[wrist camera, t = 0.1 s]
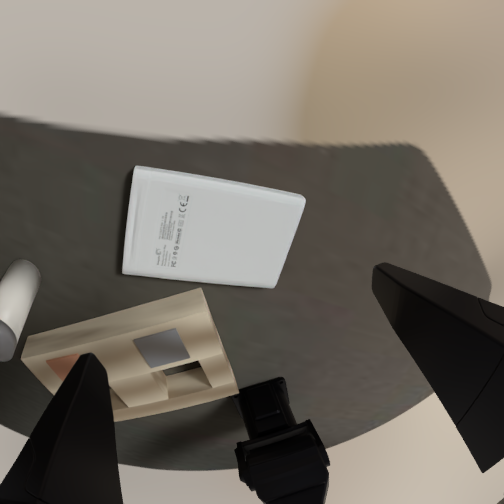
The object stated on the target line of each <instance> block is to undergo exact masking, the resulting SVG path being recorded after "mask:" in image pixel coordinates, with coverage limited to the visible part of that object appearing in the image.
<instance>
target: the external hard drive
mask: <svg viewBox="0 0 504 504" xmlns="http://www.w3.org/2000/svg"><path fill="white" fill-rule="evenodd" d="M305 202H306V199H305V198H304V197H303V196H302V195H300V194H295V193H291V192H286V191H282V190H277V189H272V188H267V187H262V186H256V185H252V184H246V183H241V182H236V181H230V180H225V179H219V178H213V177H208V176H202V175H196V174H190V173H184V172H177V171H170V170H164V169H157V168H150V167H144V166H135V168H134V172H133V178H132V186H131V193H130V200H129V208H128V216H127V225H126V234H125V243H124V255H123V267H122V274H129V275H139V276H147V277H156V278H164V279H173V280H183V281H194V282H204V283H214V284H225V285H235V286H248V287H261V288H274V287H275V286H276V283H277V281H278V278H279V276H280V273H281V270H282V267H283V265H284V262H285V259H286V256H287V254H288V251H289V249H290V246H291V243H292V240H293V238H294V235H295V232H296V229H297V227H298V223H299V221H300V218H301V215H302V212H303V209H304V206H305Z"/></svg>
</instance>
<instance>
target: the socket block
mask: <svg viewBox="0 0 504 504" xmlns="http://www.w3.org/2000/svg"><path fill="white" fill-rule="evenodd" d="M90 352H92V353H94V354H95V355H96V357H97V358H98V359H99V361H100V362H101V363H102V365H103V366H104V367H105V369H106V371H107V374H108V382H109V386H110V387H111V389H110V396H111V402H112V409H113V415H114V422H116V421H122V420H128V419H133V418H139V417H144V416H149V415H154V414H159V413H163V412H168V411H172V410H177V409H181V408H185V407H189V406H193V405H198V404H201V403H205V402H209V401H213V400H217V399H220V398H224V397H227V396H231V395H234V394H238V393H239V390H238V387H237V384H236V380H235V377H234V373H233V370H232V368H231V365H230V363H229V360H228V358H227V355H226V353H225V350H224V347H223V345H222V342H221V340H220V337H219V334H218V332H217V329H216V327H215V324H214V321H213V319H212V316H211V313H210V310H209V308H208V305H207V302H206V300H205V297H204V294H203V291H202V288H201V287H200V288H197V289H193V290H190V291H187V292H183V293H180V294H176V295H173V296H170V297H166V298H163V299H159V300H156V301H152V302H149V303H146V304H142V305H139V306H135V307H132V308H128V309H125V310H121V311H118V312H114V313H111V314H107V315H104V316H100V317H96V318H93V319H89V320H86V321H82V322H78V323H75V324H71V325H68V326H64V327H60V328H57V329H53V330H49V331H46V332H42V333H38V334H35V335H31V336H28V337H27V340H26V343H25V346H24V349H23V353H22V356H21V360H22V361H23V363H24V364H25V365H26V366H27V367H28V368H29V369H30V371H31V372H32V373H33V374H34V375H35V376H36V377H37V378H38V379H39V380H40V381H41V383H42V384H43V385H44V386H45V387H46V388H47V389H48V390H49V391H50V392H51V393H52V394H53V395H55V393H56V392H57V390H58V389H59V387H60V385H61V384H62V382H63V381H64V379H65V378H66V376H67V375H68V373H69V371H70V370H71V368H72V367H73V365H74V364H75V362H76V361H77V359H78V358H79V356H80V355H82V354H85V353H90ZM198 360H199V362H200V364H201V366H202V367H199V368H195V369H192V370H188V371H184V372H180V373H176V374H173V375H169V376H166V375H165V374H164V372H163V371H162V370H163V369H167V368H171V367H175V366H179V365H183V364H187V363H190V362H194V361H198Z"/></svg>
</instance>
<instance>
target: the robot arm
mask: <svg viewBox="0 0 504 504" xmlns="http://www.w3.org/2000/svg"><path fill="white" fill-rule="evenodd" d="M372 290H373V293H374V295H375V297H376V298H377V300H378V302H379V304H380V306H381V308H382V309H383V311H384V313H385V315H386V317H387V319H388V320H389V322H390V324H391V326H392V328H393V329H394V331H395V332H396V334H397V335H398V337H399V338H400V340H401V341H402V343H403V344H404V346H405V347H406V349H407V350H408V352H409V353H410V355H411V356H412V358H413V359H414V361H415V362H416V364H417V365H418V367H419V368H420V370H421V371H422V373H423V374H424V376H425V377H426V379H427V381H428V382H429V384H430V385H431V387H432V388H433V390H434V392H435V393H436V395H437V396H438V398H439V400H440V401H441V403H442V404H443V406H444V408H445V409H446V411H447V413H448V414H449V416H450V417H451V419H452V421H453V422H454V424H455V425H456V428H457V430H458V431H459V433H460V435H461V436H462V438H463V440H464V441H465V443H466V445H467V447H468V448H469V450H470V452H471V454H472V456H473V457H474V459H475V461H476V463H477V465H478V467H479V468H480V470H481V472H482V473H484V472H485V471H487V470H488V469H490V468H491V467H492V466H494V465H495V464H496V463H497V462H499V461H500V460H501V459H503V458H504V307H502V306H499V305H497V304H494V303H491V302H489V301H486V300H484V299H481V298H477V297H476V296H473V295H471V294H468V293H466V292H463V291H461V290H458V289H455V288H453V287H450V286H448V285H445V284H442V283H440V282H437V281H435V280H432V279H429V278H427V277H424V276H421V275H419V274H416V273H413V272H411V271H408V270H405V269H402V268H400V267H397V266H394V265H391V264H389V263H381V264H378V265H376V266H374V268H373V274H372ZM231 397H232V399H233V401H234V403H235V406H236V408H237V410H238V412H239V414H240V416H241V418H242V419H244V423H245V426H246V429H247V432H248V436H249V439H250V440H247V441H244V442H237V448H236V449H235V454H236V457H237V462H238V470H239V477H240V480H241V481H242V482H244V483H246V485H247V486H249V488H250V490H251V491H255V490H256V493H257V496H258V498H259V499H260V500H261V501H262V502H263V503H264V504H325V500H326V496H327V491H328V487H329V472H328V470H327V466H330V461H329V458H328V455H327V452H326V450H325V447H324V445H323V443H322V441H321V439H320V437H319V435H318V434H317V432H316V430H315V428H314V426H313V424H312V422H311V421H310V419H308V420H306V421H305V422H302V423H300V424H297V423H296V420H295V418H294V416H293V413H292V411H291V408H290V406H289V398H288V393H287V388H286V382H285V379H284V378H283V377H281V378H277V379H274V380H271V381H268V382H265V383H262V384H259V385H256V386H253V387H249V388H246V389H243V390H239V393H238V394H234V395H231ZM0 504H123V499H122V493H121V487H120V478H119V471H118V461H117V452H116V440H115V427H114V415H113V409H112V402H111V396H110V389H109V382H108V374H107V371H106V369H105V367H104V366H103V365H102V363H101V362H100V361H99V359H98V358H97V357H96V355H95V354H94V353H92V352H90V353H85V354H82V355H80V356H79V358H78V359H77V361H76V362H75V364H74V365H73V367H72V368H71V370H70V371H69V373H68V375H67V376H66V378H65V379H64V381H63V382H62V384H61V385H60V387H59V389H58V390H57V392H56V393H55V395H54V397H53V398H52V400H51V401H50V403H49V405H48V406H47V408H46V410H45V411H44V413H43V415H42V416H41V418H40V420H39V421H38V423H37V425H36V426H35V428H34V430H33V432H32V433H31V435H30V439H28V440H27V442H26V444H25V446H24V447H23V449H22V451H21V452H20V454H19V456H18V458H17V459H16V461H15V462H14V464H13V466H12V467H11V469H10V470H9V472H8V474H7V475H6V477H5V478H4V480H3V481H2V483H1V484H0ZM497 504H504V498H503V499H502V500H501V501H500V502H499V503H497Z"/></svg>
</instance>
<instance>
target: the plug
mask: <svg viewBox="0 0 504 504" xmlns="http://www.w3.org/2000/svg"><path fill="white" fill-rule="evenodd" d="M40 285H41V274H40V272H39V270H38V269H37V267H36V266H35V265H34V264H33V263H31V262H30V261H28V260H25V259H17V260H15V261H13V262H12V263H11V265H10V266H9V268H8V270H7V271H6V273H5V275H4V276H3V278H2V280H1V281H0V361H2V362H5V361H9V360H10V359H12V357H13V354H14V351H15V348H16V346H17V343H18V340H19V337H20V334H21V331H22V329H23V326H24V323H25V321H26V318H27V316H28V313H29V311H30V308H31V306H32V303H33V301H34V298H35V296H36V294H37V291H38V289H39V287H40Z"/></svg>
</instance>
